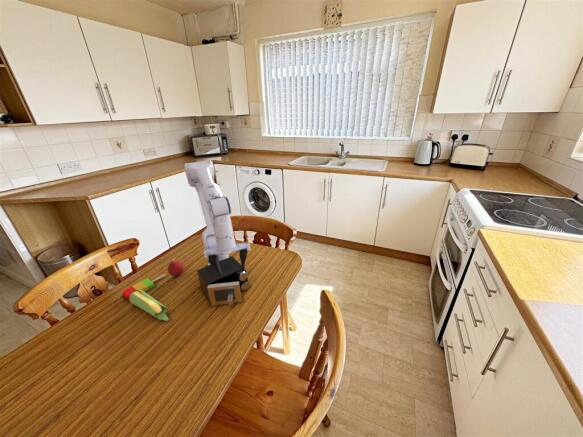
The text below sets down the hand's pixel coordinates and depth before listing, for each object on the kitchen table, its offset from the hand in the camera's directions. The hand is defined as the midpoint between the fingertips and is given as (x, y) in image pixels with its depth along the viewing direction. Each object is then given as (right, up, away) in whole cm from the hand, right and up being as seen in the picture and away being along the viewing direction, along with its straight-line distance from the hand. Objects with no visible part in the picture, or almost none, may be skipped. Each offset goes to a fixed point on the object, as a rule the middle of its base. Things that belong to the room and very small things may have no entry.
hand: (232, 272), depth 80 cm
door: (-2, -12, 0) cm, 12 cm away
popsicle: (-35, -8, +12) cm, 38 cm away
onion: (-26, -5, +17) cm, 31 cm away
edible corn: (-28, -13, +1) cm, 30 cm away
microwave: (-5, -8, +9) cm, 13 cm away
